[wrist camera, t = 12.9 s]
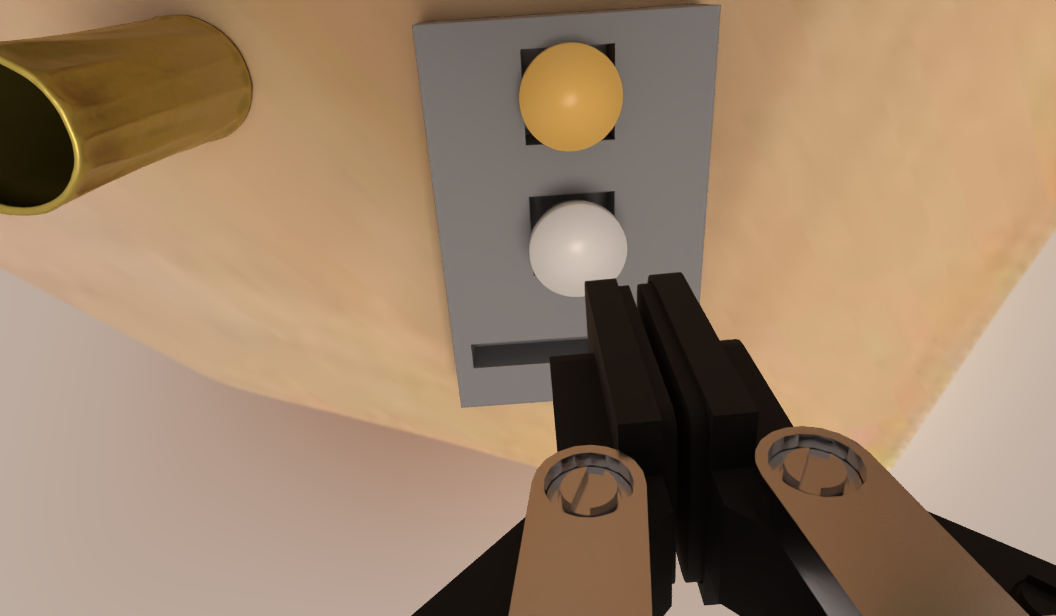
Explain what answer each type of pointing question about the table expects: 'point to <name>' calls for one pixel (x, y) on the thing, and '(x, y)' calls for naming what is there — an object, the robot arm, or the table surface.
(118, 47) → the vase
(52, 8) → the table surface
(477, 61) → the panel
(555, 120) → the amber button
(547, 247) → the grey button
